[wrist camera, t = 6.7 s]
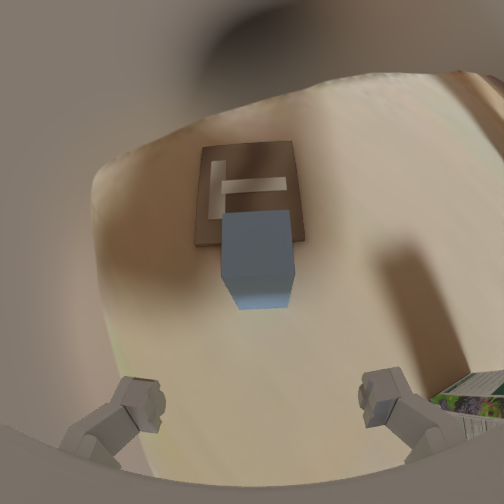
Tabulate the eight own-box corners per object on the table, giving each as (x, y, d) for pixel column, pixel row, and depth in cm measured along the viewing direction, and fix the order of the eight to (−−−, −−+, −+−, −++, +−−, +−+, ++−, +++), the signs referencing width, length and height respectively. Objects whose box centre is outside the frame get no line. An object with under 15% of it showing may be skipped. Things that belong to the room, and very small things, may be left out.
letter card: (291, 144, 30) (291, 140, 30) (304, 240, 26) (305, 237, 25) (203, 150, 31) (202, 146, 30) (195, 246, 26) (194, 243, 26)
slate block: (284, 262, 25) (289, 209, 17) (287, 307, 24) (295, 273, 15) (238, 265, 25) (222, 213, 17) (239, 309, 24) (221, 277, 16)
